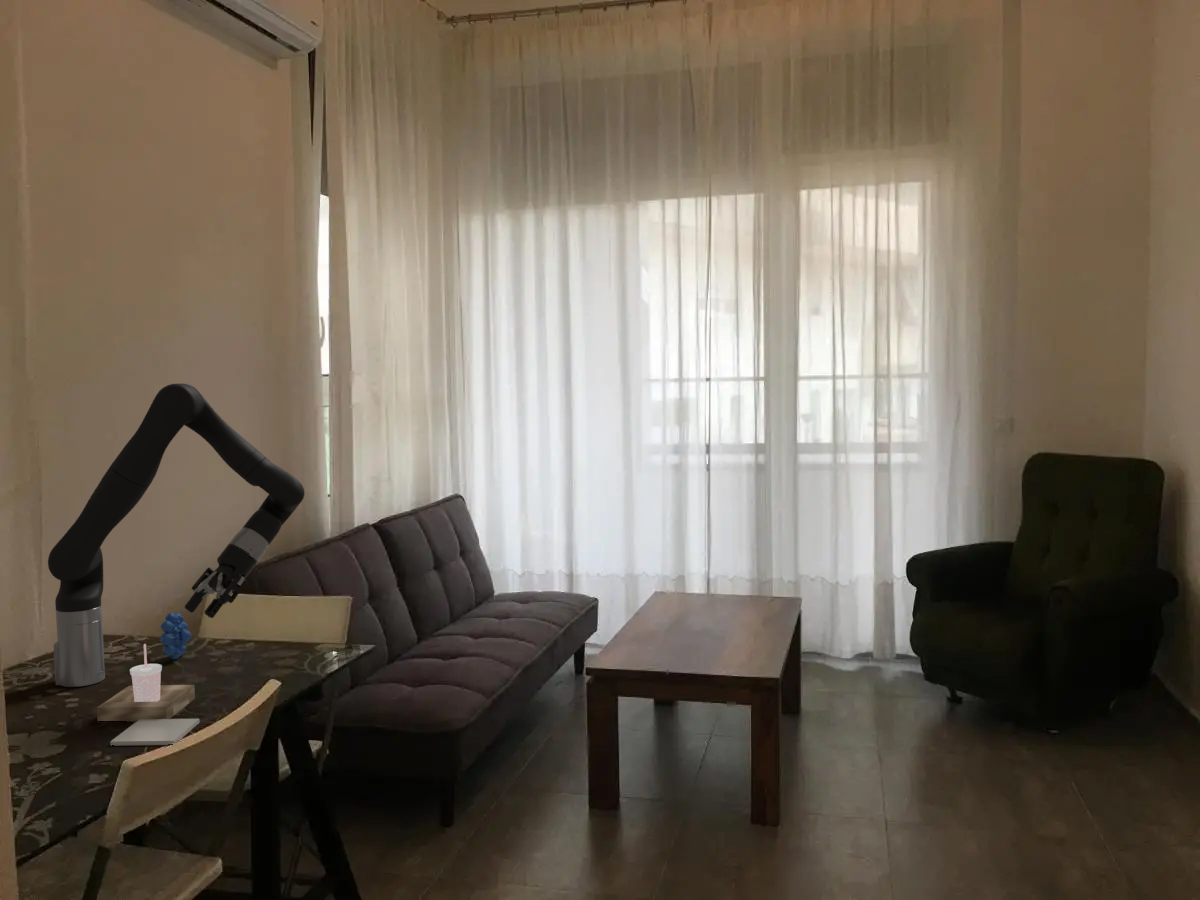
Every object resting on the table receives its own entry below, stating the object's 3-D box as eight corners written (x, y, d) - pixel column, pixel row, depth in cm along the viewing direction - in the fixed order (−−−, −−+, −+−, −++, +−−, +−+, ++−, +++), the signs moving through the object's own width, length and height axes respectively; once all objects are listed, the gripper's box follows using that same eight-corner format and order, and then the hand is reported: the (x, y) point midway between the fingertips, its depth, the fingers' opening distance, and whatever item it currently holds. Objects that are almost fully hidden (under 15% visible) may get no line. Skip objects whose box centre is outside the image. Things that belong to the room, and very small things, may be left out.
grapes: (182, 666, 238) (180, 617, 237) (154, 666, 238) (152, 617, 237) (202, 652, 249) (200, 605, 249) (176, 652, 250) (174, 605, 249)
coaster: (110, 745, 187) (110, 741, 187) (139, 723, 199) (139, 719, 199) (174, 744, 187) (173, 740, 187) (199, 722, 199) (199, 718, 199)
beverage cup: (125, 712, 205) (121, 646, 204) (148, 703, 211) (145, 639, 210) (147, 716, 203) (144, 649, 202) (170, 706, 209) (167, 641, 208)
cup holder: (97, 721, 200) (96, 707, 200) (130, 699, 214) (129, 685, 214) (166, 721, 200) (166, 706, 200) (194, 698, 214) (194, 684, 214)
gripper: (215, 539, 225) (169, 599, 217) (249, 545, 215) (202, 607, 208) (238, 559, 229) (193, 617, 221) (272, 565, 220) (227, 627, 212)
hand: (197, 613), depth 214 cm, fingers open, 8 cm apart
